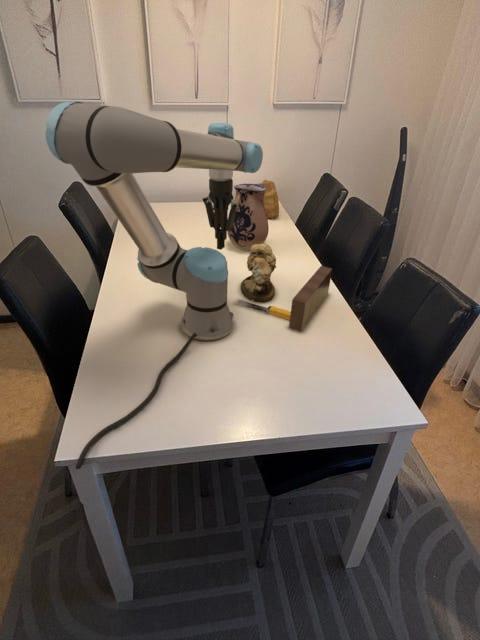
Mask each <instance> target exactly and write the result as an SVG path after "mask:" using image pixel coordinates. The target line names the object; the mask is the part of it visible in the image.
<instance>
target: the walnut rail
mask: <svg viewBox="0 0 480 640" xmlns="http://www.w3.org/2000/svg"><path fill="white" fill-rule="evenodd" d="M332 273H333V268H332V267H329V266H324V265H320V266H319V268H317V270H316V271H315V272H314V273H313V274H312V275H311V277H310V278H309V279H308V280H307V281H306V283H305V284H304V285H303V286H302V287H301V288H300V290H299V291H298V292H297V293H296V294H295V296H294V297H293V298H292V300H291V307H290V312H291V315H290V320H289V324H288V329H292V330H295V331H298V332H302V331H303V330H304V328H305V327H306V326H307V324H308V323H309V321H310V320H311V319H312V317H313V316H314V314H315V313H316V312H317V310H318V309H319V307H321V305H322V304H323V302H324V301H325V299H326V298H327V296H328V295H329V291H330V285H331V279H332Z"/></svg>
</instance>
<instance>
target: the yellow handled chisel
mask: <svg viewBox="0 0 480 640" xmlns="http://www.w3.org/2000/svg"><path fill="white" fill-rule="evenodd" d="M235 305H237V306H240V307H244V308H246V309H250V310H254V311H257V312H259V313H262V314H268V315H271V316H274V317H277V318H281V319H284V320H287V321H290V315H291V310H286V309H283V308H279V307H276V306H274V305H269V306H268V307H265V306H261V305H258V304H256V303H255V304H254V303H252V302H248V301H245V300H242V299H238V300H237V301H236V302H235Z"/></svg>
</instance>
